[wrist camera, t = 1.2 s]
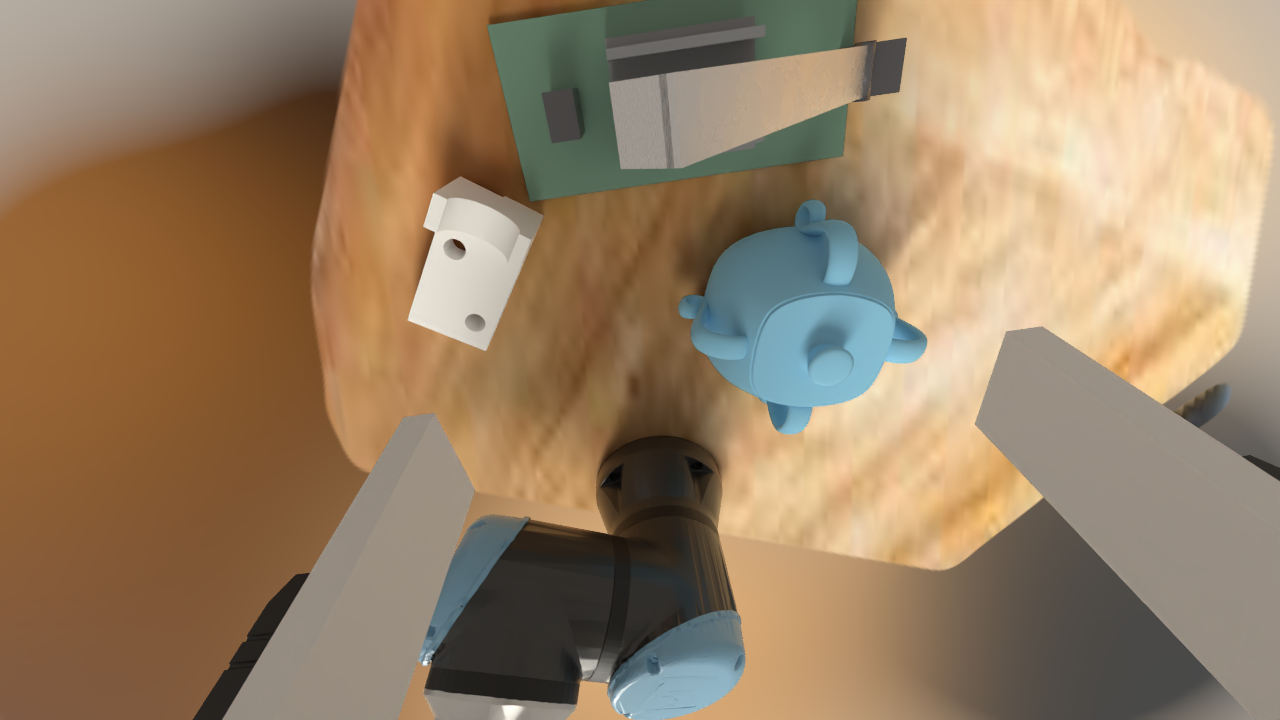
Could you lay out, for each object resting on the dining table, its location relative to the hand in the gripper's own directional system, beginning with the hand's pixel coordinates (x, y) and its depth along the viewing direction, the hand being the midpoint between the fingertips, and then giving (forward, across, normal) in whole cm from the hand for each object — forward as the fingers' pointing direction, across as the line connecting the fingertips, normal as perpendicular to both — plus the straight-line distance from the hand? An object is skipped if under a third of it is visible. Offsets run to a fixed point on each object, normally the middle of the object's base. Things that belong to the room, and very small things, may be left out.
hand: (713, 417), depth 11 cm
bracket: (+32, +16, +6) cm, 36 cm away
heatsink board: (+32, -3, -4) cm, 33 cm away
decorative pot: (+32, -10, +14) cm, 36 cm away
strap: (+19, -5, -5) cm, 20 cm away
